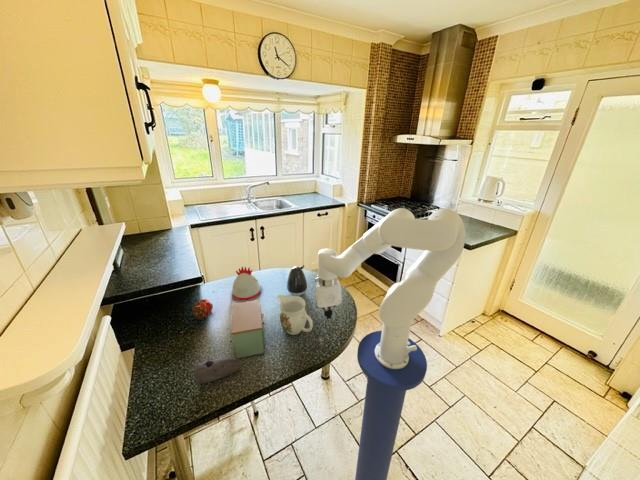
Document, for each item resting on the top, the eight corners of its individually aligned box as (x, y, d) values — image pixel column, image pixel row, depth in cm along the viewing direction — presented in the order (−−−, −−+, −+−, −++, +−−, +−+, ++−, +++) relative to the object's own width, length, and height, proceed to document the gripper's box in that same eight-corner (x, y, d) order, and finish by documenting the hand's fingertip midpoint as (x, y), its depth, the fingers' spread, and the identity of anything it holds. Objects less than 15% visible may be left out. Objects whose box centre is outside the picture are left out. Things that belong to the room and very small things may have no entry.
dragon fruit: (201, 328, 110) (203, 314, 121) (217, 314, 111) (217, 301, 121) (185, 317, 106) (189, 303, 117) (201, 303, 107) (203, 290, 118)
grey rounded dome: (257, 300, 125) (254, 274, 119) (229, 300, 125) (224, 274, 119) (263, 284, 137) (260, 260, 131) (237, 284, 138) (233, 259, 131)
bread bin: (264, 322, 111) (262, 299, 106) (267, 352, 97) (264, 327, 91) (236, 327, 108) (232, 303, 103) (235, 359, 94) (230, 333, 89)
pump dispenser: (311, 292, 132) (311, 266, 125) (297, 301, 124) (296, 275, 118) (297, 284, 138) (296, 259, 131) (283, 293, 130) (281, 267, 124)
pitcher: (303, 348, 98) (302, 321, 93) (271, 328, 108) (268, 302, 103) (320, 331, 106) (320, 305, 101) (288, 314, 116) (287, 289, 111)
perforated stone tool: (242, 363, 92) (240, 349, 89) (243, 375, 88) (241, 361, 85) (197, 375, 88) (193, 361, 85) (196, 389, 83) (192, 374, 80)
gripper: (311, 287, 95) (313, 326, 102) (349, 281, 99) (348, 319, 106) (307, 277, 102) (309, 314, 109) (342, 271, 105) (342, 307, 113)
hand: (328, 316), depth 107 cm, fingers closed
